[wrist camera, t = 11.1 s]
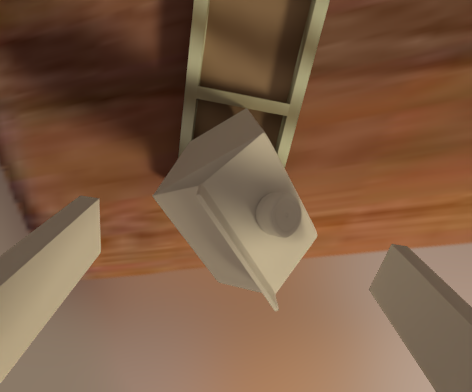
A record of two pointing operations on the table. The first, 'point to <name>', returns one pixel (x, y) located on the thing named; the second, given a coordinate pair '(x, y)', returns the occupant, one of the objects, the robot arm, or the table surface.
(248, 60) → the board
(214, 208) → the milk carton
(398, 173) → the table surface
